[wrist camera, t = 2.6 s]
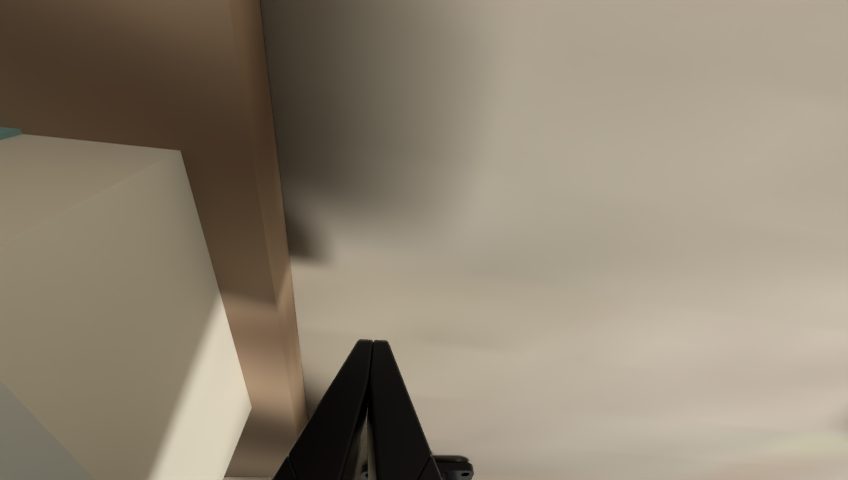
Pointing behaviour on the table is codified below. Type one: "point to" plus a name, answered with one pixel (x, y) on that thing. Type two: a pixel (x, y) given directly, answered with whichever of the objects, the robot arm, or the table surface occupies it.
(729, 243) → the table surface
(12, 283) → the carton
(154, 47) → the podium
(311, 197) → the table surface
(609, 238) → the table surface
